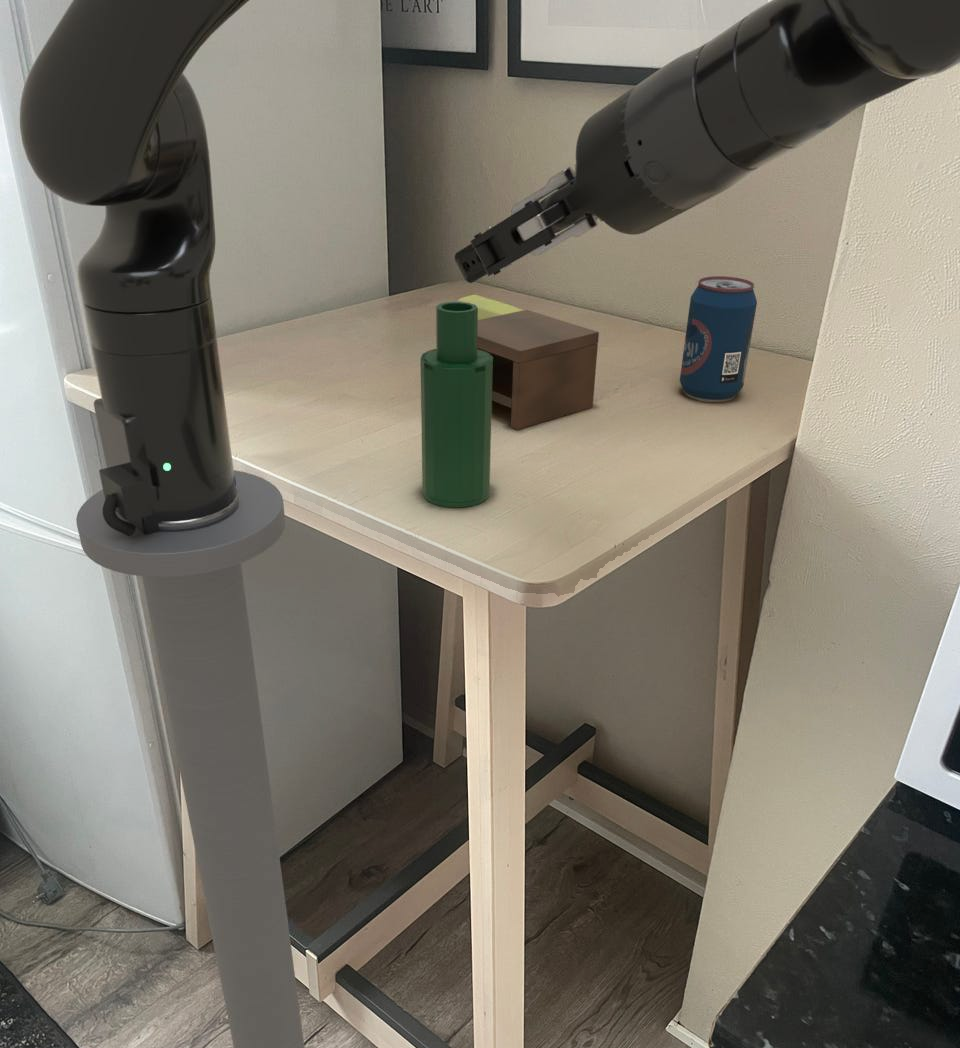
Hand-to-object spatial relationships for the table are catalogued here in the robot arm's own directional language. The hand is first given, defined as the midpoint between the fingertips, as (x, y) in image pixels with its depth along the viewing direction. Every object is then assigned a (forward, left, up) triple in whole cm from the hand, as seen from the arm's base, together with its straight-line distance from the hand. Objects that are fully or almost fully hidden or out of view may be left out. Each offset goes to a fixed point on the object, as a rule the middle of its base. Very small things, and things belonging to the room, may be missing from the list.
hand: (501, 245), depth 70 cm
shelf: (+21, +19, -21) cm, 35 cm away
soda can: (+39, +9, -22) cm, 46 cm away
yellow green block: (+35, +38, -22) cm, 56 cm away
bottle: (0, +6, -21) cm, 22 cm away
